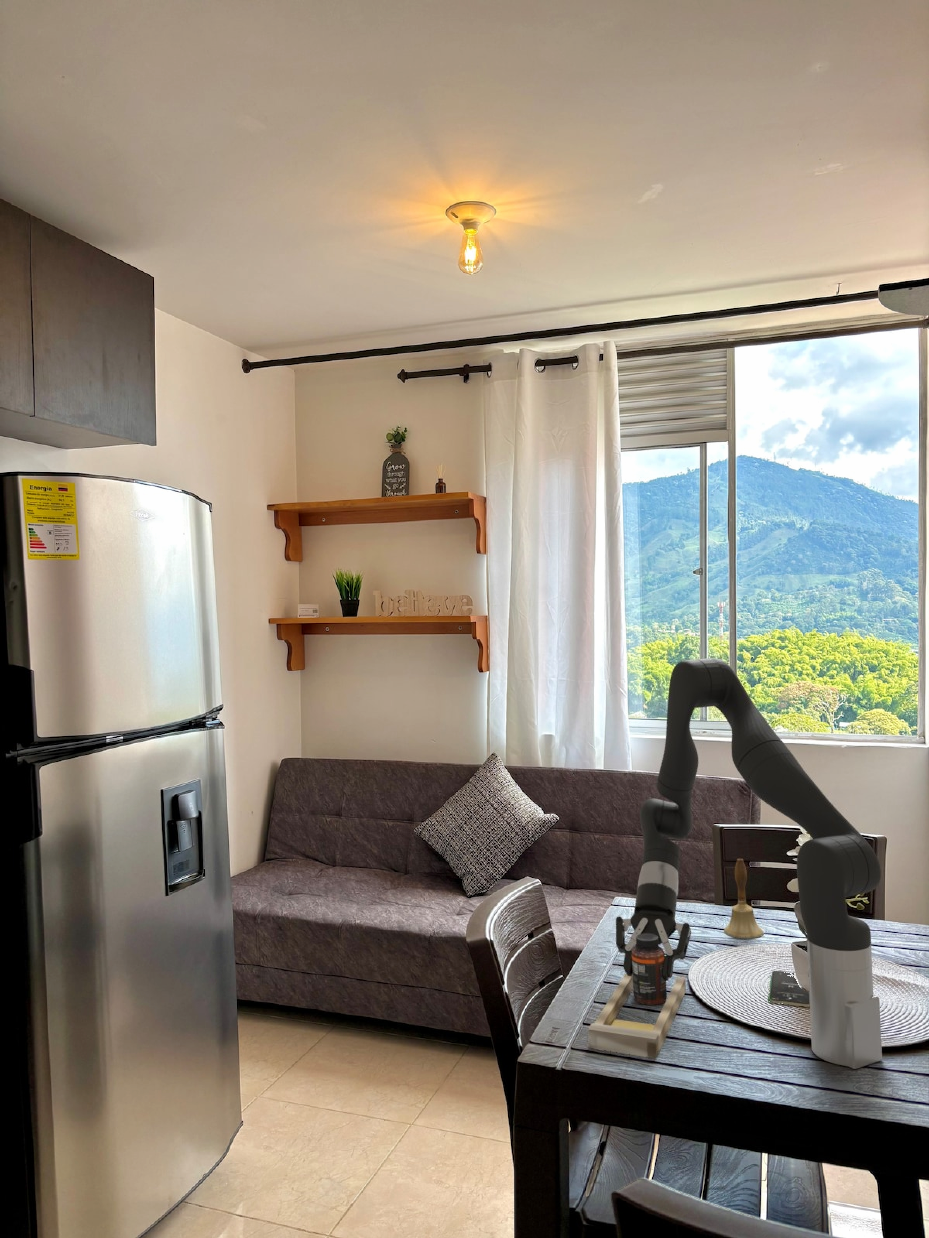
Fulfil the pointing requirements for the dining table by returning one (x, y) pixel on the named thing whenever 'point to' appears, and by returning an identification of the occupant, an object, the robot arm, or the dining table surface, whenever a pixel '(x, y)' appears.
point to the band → (633, 1025)
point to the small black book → (787, 990)
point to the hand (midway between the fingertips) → (647, 976)
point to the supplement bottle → (648, 970)
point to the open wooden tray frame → (633, 1039)
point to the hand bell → (742, 910)
